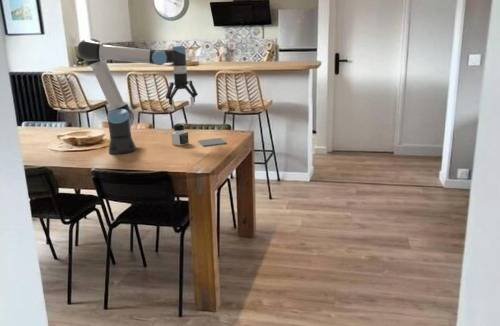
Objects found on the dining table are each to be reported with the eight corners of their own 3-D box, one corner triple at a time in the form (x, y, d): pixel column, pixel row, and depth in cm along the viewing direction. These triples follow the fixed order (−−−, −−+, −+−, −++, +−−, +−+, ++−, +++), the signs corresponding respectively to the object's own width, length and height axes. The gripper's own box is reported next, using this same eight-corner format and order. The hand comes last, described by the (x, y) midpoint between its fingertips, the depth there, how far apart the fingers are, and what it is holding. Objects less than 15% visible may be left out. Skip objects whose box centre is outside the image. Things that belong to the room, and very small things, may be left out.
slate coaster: (203, 146, 263) (203, 145, 262) (198, 141, 275) (198, 140, 275) (226, 143, 267) (226, 142, 267) (220, 139, 280) (220, 137, 279)
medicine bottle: (180, 145, 267) (178, 125, 264) (172, 144, 271) (170, 124, 268) (188, 143, 273) (187, 123, 269) (180, 142, 277) (178, 122, 273)
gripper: (163, 74, 255) (166, 112, 261) (201, 71, 269) (203, 107, 275) (158, 74, 261) (160, 110, 267) (195, 71, 275) (197, 105, 281)
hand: (182, 109), depth 271 cm, fingers open, 13 cm apart
